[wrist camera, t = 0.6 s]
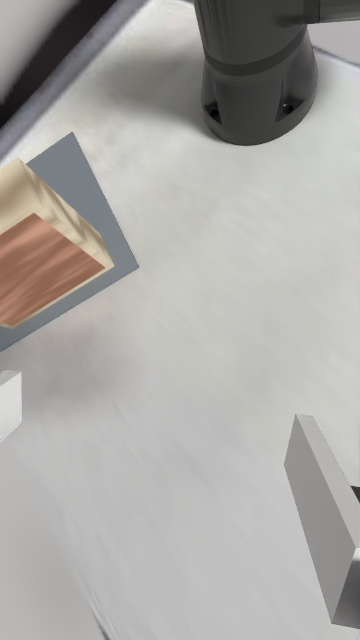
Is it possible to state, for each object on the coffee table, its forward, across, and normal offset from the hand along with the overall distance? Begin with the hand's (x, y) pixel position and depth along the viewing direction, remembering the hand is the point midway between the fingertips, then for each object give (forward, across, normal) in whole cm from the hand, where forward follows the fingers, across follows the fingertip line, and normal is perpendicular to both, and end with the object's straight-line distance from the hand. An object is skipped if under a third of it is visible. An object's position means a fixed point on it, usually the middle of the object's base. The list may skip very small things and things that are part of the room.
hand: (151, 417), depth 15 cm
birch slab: (+32, -20, 0) cm, 38 cm away
